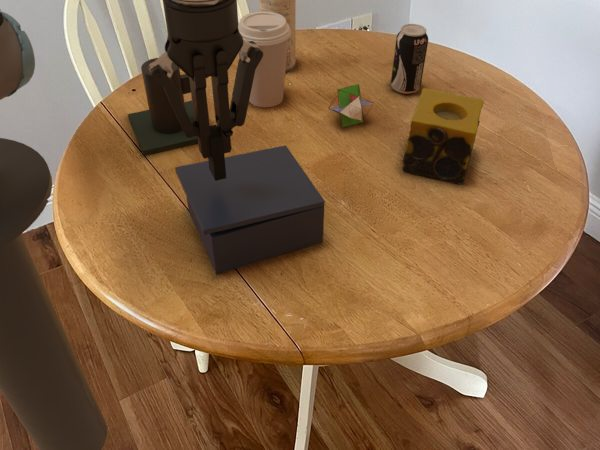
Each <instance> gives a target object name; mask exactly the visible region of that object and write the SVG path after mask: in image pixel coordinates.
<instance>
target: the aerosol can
mask: <svg viewBox="0 0 600 450" xmlns="http://www.w3.org/2000/svg"><path fill="white" fill-rule="evenodd" d="M258 3H259V12H261V11H267V12H274V13H277V14H280V15H282V16H283V17H284V18H285V19H286V22H287V23H288V25H289V27H290V30H291V35H290V37H289V38H288V44H287V55H286V68H285V73H288V72H292V70H294V69H295V67H296V12H297V11H296V6H297V5H296V4H297V3H296V0H259V2H258Z"/></svg>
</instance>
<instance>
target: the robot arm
mask: <svg viewBox="0 0 600 450" xmlns="http://www.w3.org/2000/svg"><path fill="white" fill-rule="evenodd" d="M162 4H163V11H164V19H165V25H166V26H165V27H166V33H167V37H166V41H165V44H164V52H163V53H162V54H161V55H160V56H159V57H157V58H158V59H157V60H155V59H154V58H150V59H148V60H149V61H148V60H147V61H148V62H147V66H148V68H149V71H150V73H151V75H152V77H153V78H154V79H155V80H156V81H157V82H158V83H159V84H160V85H161V86H162V87H163V88H164V90H165V92H166V95H167V97H168V99H169V101H170V103H171V105H172V108H173V110H174V112H175V114H176V116H177V119H178V121H179V123H180V125H181V127H182V129H183V131H184V133H185V135H186V137H188V138H191V137H193V136H197V137H198V143H197V144H198V150H199V152H200V155H201V156H202V158H203V159H207V161H208V163H209V169H210V171H211V173H212V175H213V177H214V179H215V181H217V180H221V179H225V178H226V167H225V157H226V156H225V155H226V154H229V153H231V152H232V139H231V138H232V136H233V135H234V131H233V129H234V128H235V127H243V126H244V125H245V122H246V118H247V114H248V108H249V103H250V102H249V99H250V94H251V89H252V84H253V79H254V74H255V70H256V68H257V66H258V64H259V63H260V61H261V59H262V58H263V52H262V51H261V49H260V48H259V47H258V45H257V44H256V43H255V42H254V41H250V42H247V41H245V40H243V37H242V35H241V34H240V32H239V29H238V24H239V15H238V14H239V13H238V0H162ZM35 57H36V56H35V52H34V48H33V46H32V42H31V40H30V37H29V36H28V34H27V32H26V31H25V30H22V28H21V23H19V22H18V20H17V19H15V18H14V17H13V16H11V15H10V14H8V13H7V12H5V11H2V10H1V9H0V101H1V100H3V99H5V98H8V97H10V96H13V95H14V94H15V93H17V91H18V90H20V89H21V88H23V87H24V86H26V85H28V83H29V82H30V81H31V79H32V78H33V76H34V74H35V70H36V58H35ZM237 57H239V59H238V62H237V67H236V72H235V78H234V82H233V89H232V94H231V99H230V98H229V97H230V96H229V86H228V85H229V84H230V83H229V70H230V68H231V67H232V65H233V63H234V61H235V60H236V58H237ZM172 63H175V64H176V65H177V66H178V67H179V68H180V71H182V72H183V74H186V75H187V76H188V77H189V80H190V88H191V93H190V97H191V101H192V104H193V112H194V121H190V119H189V116H188V114H187V112H186V110H185V107H184V105H183V103H182V100H181V98H180V96H179V94H178V91H177V89H176V87H175V85H174V83H173V81H172V79H171V77H172V74H173V69H172V67H171V65H172ZM208 78H211V79H210V80H211V86H212V87H211V88H212V89H211V90H212V99H213V108H214V109H213V110H214V120H215V123H216V124H212V125H211V124H210V116H209V105H208V97H207V88H208V87H207V86H208V85H207V79H208Z"/></svg>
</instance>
